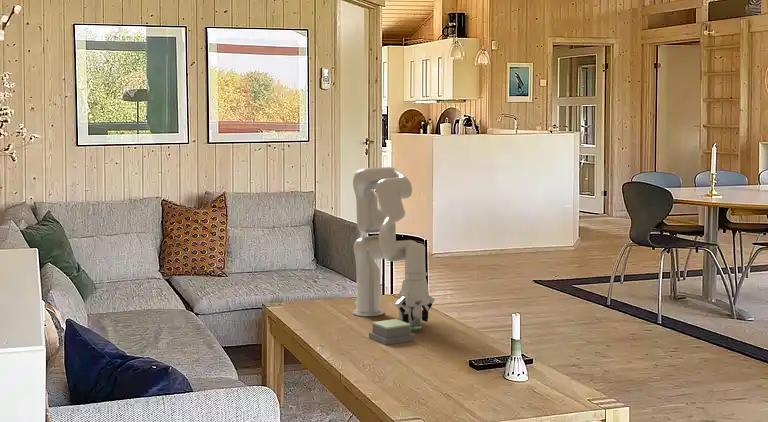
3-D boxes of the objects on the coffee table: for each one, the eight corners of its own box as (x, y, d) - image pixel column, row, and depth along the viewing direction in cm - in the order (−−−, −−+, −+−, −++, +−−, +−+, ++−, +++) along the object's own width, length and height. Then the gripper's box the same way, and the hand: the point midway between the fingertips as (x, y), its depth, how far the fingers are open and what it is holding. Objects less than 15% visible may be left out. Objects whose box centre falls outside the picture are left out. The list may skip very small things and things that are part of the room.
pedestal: (368, 338, 356) (368, 321, 356) (397, 333, 362) (396, 318, 362) (385, 344, 346) (385, 328, 345) (414, 340, 352) (414, 324, 351)
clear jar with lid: (405, 330, 367) (405, 299, 366) (417, 329, 370) (417, 297, 368) (413, 333, 363) (412, 301, 361) (424, 331, 365) (424, 300, 364)
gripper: (429, 272, 372) (429, 317, 373) (389, 277, 363) (390, 323, 365) (440, 275, 365) (440, 321, 367) (400, 280, 356) (400, 327, 358)
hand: (415, 322), depth 366 cm, fingers open, 7 cm apart
